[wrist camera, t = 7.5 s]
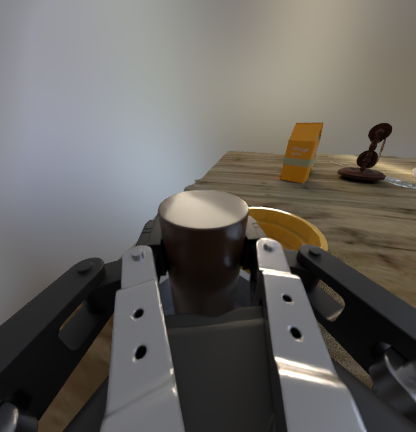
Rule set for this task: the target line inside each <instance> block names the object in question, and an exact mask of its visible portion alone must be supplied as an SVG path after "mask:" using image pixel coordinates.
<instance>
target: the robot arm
mask: <svg viewBox="0 0 416 432" xmlns="http://www.w3.org/2000/svg"><path fill="white" fill-rule="evenodd" d="M241 266H242V269H243V270H249V271H250V277H249V283H250V307H243V308H237V309H235V310H232V311H230V312H228V313H225V314H223V315H220V316H218V317H210V316H204V315H198V314H192V313H185V314H175V315H166V316H165V310H164V305H163V300H162V295H161V290H160V285H159V283H160V278H161V276H166V273H167V264H166V258H165V252H164V246H163V240H162V234H161V228H160V222H159V216H158V214H157V216H156V219H155V220H150V221H148V222H147V223H146V224H145V226H144V228H143V230H142V233H141V235H140V237H139V239H138V242H137V244H136V246H135V247H133V248H131V249H129V250H128V251H127V252H126V253H125V254H124V255H123V258H122V259H120V260H118V261H114V262H110V263H107V264H104V262H103V260H102V259H100V258H89V259H85V260H83V261H81V262H79V263H77V264H75V265H74V266H73V267H71V268H70V269H69V270H68V271H67V272H65V273H64V274H63V275H62V276H60V277H59V278H58V279H57V280H56V281H55V282H53V283H52V284H51V285H50V286H48V287H47V288H46V289H45V290H43V291H42V292H41V293H40V294H39V295H37V296H36V297H35V298H34V299H33V300H31V301H30V302H29V303H28V304H27V305H25V306H24V307H23V308H22V309H20V310H19V311H18V312H17V313H16V314H14V315H13V316H12V317H11V318H10V319H8V320H7V321H6V322H5V323H3V324H2V325H1V326H0V432H38V421H39V420H40V418H41V417H42V415H43V414H44V412H45V411H46V410H47V408H48V407H49V405H50V404H51V402H52V401H53V399H54V398H55V397H56V395H57V394H58V392H59V391H60V389H61V388H62V386H63V385H64V384H65V382H66V381H67V379H68V378H69V376H70V375H71V373H72V372H73V370H74V369H75V368H76V366H77V365H78V363H79V362H80V360H81V359H82V357H83V356H84V355H85V353H86V352H87V350H88V349H89V347H90V346H91V344H92V343H93V341H94V340H95V339H96V337H97V336H98V334H99V333H100V331H101V330H102V328H103V327H104V326H105V324H106V323H107V321H108V320H109V318H110V317H111V315H112V314H113V312H114V320H113V332H112V345H111V357H110V369H109V376H108V377H107V378H106V379H105V381H104V382H103V383H102V384H101V385H100V387H99V388H98V389H97V390H96V392H95V393H94V394H93V395H92V396H91V398H90V399H89V400H88V401H87V403H86V404H85V405H84V406H83V407H82V409H81V410H80V411H79V412H78V414H77V415H76V416H75V417H74V418H73V420H72V421H71V422H70V423H69V424H68V426H67V427H66V428H65V429H64V431H63V432H416V309H415V308H414V307H412V306H411V305H409V304H408V303H406V302H404V301H403V300H401V299H400V298H398V297H397V296H395V295H394V294H392V293H390V292H389V291H387V290H386V289H384V288H383V287H381V286H380V285H378V284H376V283H375V282H373V281H372V280H370V279H369V278H367V277H366V276H364V275H362V274H361V273H359V272H358V271H356V270H355V269H353V268H352V267H350V266H348V265H347V264H345V263H344V262H342V261H341V260H339V259H338V258H336V257H334V256H333V255H331V254H330V253H328V252H327V251H325V250H324V249H322V248H320V247H318V246H315V245H311V244H304V245H301V246H300V247H299V250H298V251H295V250H288V249H283V247H282V245H281V244H280V243H279V242H277V241H275V240H273V239H269V238H268V237H267V236H266V234H265V233H264V231H263V230H262V229H261V228H260V226H259V224H258V223H257V222H256V220H255V219H254V218H252V217H251V216H248V222H247V228H246V235H245V241H244V248H243V254H242V261H241ZM320 279H321V280H322V281H323V282H324V283H326V284H327V285H328V286H329V287H331V288H332V289H333V290H334V291H335V292H337V293H338V294H339V295H340V296H341V297H342V298H343V300H344V302H345V307H342V306H341V305H340V304H339V303H338V302H337V301H335V300H334V299H333V298H332V297H331V296H330V295H328V294H327V293H326V292H325V291H324V290H323V289H321V288H320V287H319V286H318V285H317V284H318V282H319V281H320ZM81 303H83V304H84V305H83V306H82V307H81V308H80V309H79V310H78V312H77V313H76V314H75V315H74V316H73V317H72V318H71V319H70V321H69V322H68V323H67V324H66V325H65V326H64V327H63V328H62V330H61V331H60V332H59V329H60V327H61V325H62V324H63V323H64V321H65V320H66V319H67V318H68V317H69V316H70V315H71V314H72V313H73V312H74V310H75V309H76V308H77V307H78V306H79V305H80V304H81ZM316 320H317V321H318V322H319V323H320V324H321V325H322V326H323V327H324V328H325V329H326V330H327V331H328V332H329V333H330V334H331V335H332V336H333V337H334V339H335V340H336V341H337V342H338V343H339V344H340V345H341V346H342V347H343V348H344V349H345V350H346V351H347V352H348V353H349V354H350V355H351V356H352V357H353V358H354V360H355V361H356V362H357V363H358V364H359V365H360V366H361V367H362V368H363V369H364V370H365V371H366V372H367V373H368V374H369V375H370V378H371V380H372V382H373V385H372V390H373V391H372V390H371V389H370V388H369V387H367V386H366V385H365V384H364V383H362V382H361V381H360V380H359V379H357V378H356V377H355V376H354V375H353V374H351V373H350V372H349V371H348V370H346V369H345V368H344V367H343V366H341V365H340V364H339V363H338V362H336V361H335V360H334V359H333V358H331V357H330V355H329V353H328V350H327V347H326V345H325V342H324V339H323V337H322V334H321V331H320V329H319V326H318V323H317V321H316ZM58 332H59V333H58Z"/></svg>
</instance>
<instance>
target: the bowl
mask: <svg viewBox="0 0 416 432" xmlns="http://www.w3.org/2000/svg"><path fill="white" fill-rule="evenodd" d="M248 208H249V215H248V216H251V217H252V218H254V219H255V220H256V222H257V223H258V224H259V226H260V228H261V229H262V230H263V231H264V233H265V234H266V236H267V237H268V238H269V239H273V240H275V241H277V242H279V243H280V244H281V245H282V247H283V249H288V250H295V251H298V250H299V247H300V246H301V245H304V244H311V245H315V246H318V247H320V248H322V249H324V250H325V251H328V245H327V241H326V238H325V236H324V235H323V234H322V233H321V232H320V231H319V229H318V228H316V227H315V226H314V225H312V224H311V223H309V222H308V221H306V220H304V219H302V218H300V217H298V216H296V215H294V214H291V213H288V212H285V211H282V210H277V209H271V208H265V207H248ZM240 269H242V266H241V267H240ZM242 270H243V269H242ZM243 271H245V272H246V273H248V274H249V275H250V271H249V270H243Z"/></svg>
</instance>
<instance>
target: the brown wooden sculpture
mask: <svg viewBox="0 0 416 432" xmlns="http://www.w3.org/2000/svg"><path fill="white" fill-rule="evenodd" d="M391 132H392V126H391V125H390V124H388V123H381V124H378V125H376V126H374V127H373V128H372V129H371V130H370V131H369V134H368V137H369V139H370V141H371V142H372V143H371V145H370V147H369V150H368V151H365V152H363V153H361V154H360V155H359V157H358V158H357V165H358V166H360V167H361V168H355V167H346V168H342V169H339V170H338V172H337V173H338V174H340V175H342V176H341V179H343V178H344V177H350V178H355V179H362V180H372V184H374V183H375V182H376V181H379V180H384V179H385V177H386V176H385V175H384V174H383V173H381V172H379V171H376V170H371V169H366V168H371V167H373V166H374V165H375V164H376V163H377V162H378V160H379V157H380V155H381V152H382V150H383V147H384V144H385V140H386V138H387V137H388V136H389V135H390V134H391ZM383 139H384V142H383V144H382V147H381V150H380V154H379V157H378V155H377V153H376V152H375V151H374V150H375V149H376V147H377V143H379V142H381V141H382V140H383Z"/></svg>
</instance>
